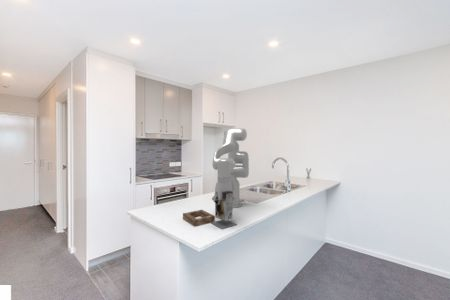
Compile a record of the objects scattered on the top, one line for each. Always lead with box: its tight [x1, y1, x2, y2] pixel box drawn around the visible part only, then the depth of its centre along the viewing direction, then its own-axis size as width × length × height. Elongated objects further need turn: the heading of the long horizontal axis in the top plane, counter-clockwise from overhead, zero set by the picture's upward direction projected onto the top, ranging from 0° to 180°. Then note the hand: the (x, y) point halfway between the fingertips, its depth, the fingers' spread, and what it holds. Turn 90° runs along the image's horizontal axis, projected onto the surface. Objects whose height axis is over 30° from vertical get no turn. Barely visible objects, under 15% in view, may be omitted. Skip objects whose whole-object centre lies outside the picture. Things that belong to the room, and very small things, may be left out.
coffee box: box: [214, 191, 234, 221], centre depth 124 cm, size 9×6×16 cm
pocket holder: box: [182, 209, 216, 227], centre depth 131 cm, size 14×16×4 cm
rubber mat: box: [211, 219, 238, 230], centre depth 124 cm, size 11×11×1 cm
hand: (223, 209), depth 124 cm, fingers closed on coffee box, 7 cm apart
